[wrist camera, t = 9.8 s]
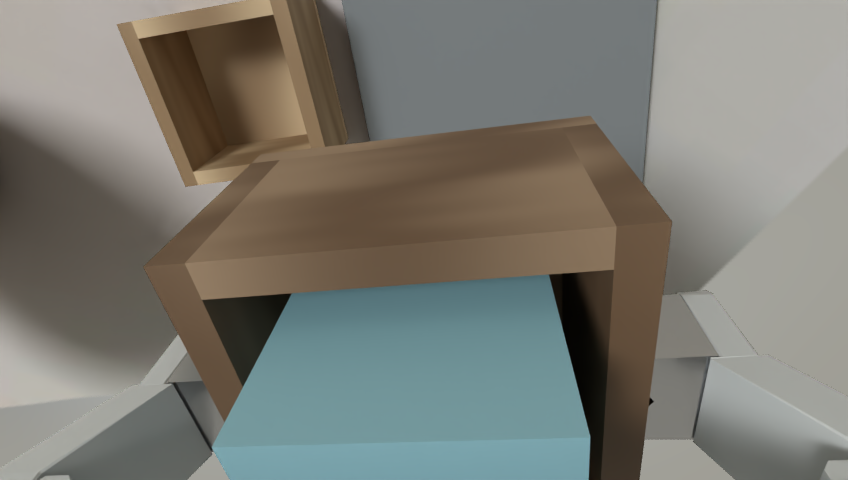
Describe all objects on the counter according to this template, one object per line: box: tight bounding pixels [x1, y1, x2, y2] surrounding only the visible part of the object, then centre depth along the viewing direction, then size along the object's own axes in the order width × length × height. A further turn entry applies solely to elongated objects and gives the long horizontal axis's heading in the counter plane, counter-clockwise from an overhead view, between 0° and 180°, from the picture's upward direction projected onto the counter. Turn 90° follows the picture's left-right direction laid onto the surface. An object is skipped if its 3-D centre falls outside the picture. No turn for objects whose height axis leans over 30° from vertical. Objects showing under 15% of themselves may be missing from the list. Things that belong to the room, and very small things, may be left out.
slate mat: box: [342, 0, 657, 183], centre depth 22 cm, size 13×13×1 cm
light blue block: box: [212, 274, 590, 480], centre depth 8 cm, size 4×4×6 cm
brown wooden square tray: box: [143, 116, 672, 480], centre depth 9 cm, size 7×7×4 cm
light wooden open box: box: [117, 0, 348, 187], centre depth 21 cm, size 7×7×4 cm
